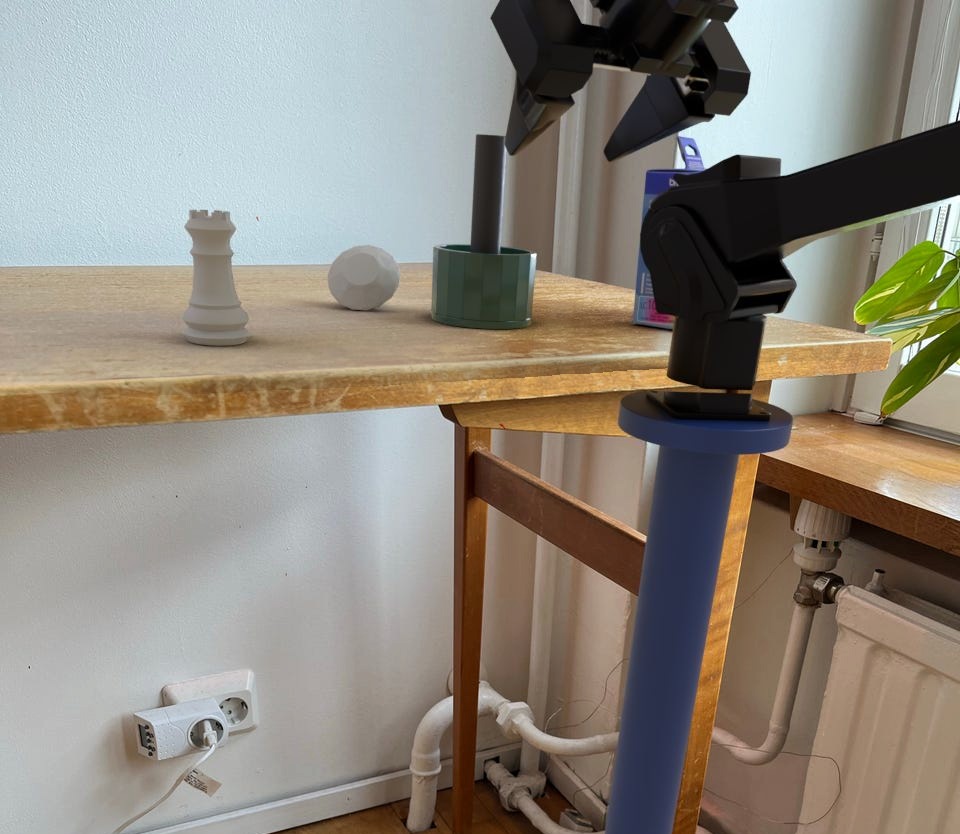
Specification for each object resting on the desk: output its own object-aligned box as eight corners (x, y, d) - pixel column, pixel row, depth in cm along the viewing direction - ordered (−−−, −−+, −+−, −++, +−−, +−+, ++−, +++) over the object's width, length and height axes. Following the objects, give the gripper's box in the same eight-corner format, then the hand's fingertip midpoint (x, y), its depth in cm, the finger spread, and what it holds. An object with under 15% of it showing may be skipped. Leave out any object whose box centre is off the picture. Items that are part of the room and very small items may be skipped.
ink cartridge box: (670, 313, 91) (694, 139, 85) (727, 321, 89) (756, 142, 82) (625, 324, 83) (648, 133, 77) (686, 332, 81) (715, 136, 74)
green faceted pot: (540, 330, 78) (546, 256, 75) (436, 327, 76) (439, 251, 74) (521, 314, 85) (526, 246, 82) (426, 311, 83) (428, 242, 81)
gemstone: (403, 268, 87) (395, 232, 82) (407, 330, 85) (400, 298, 80) (334, 275, 87) (323, 240, 82) (337, 337, 86) (326, 305, 81)
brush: (499, 319, 78) (510, 135, 72) (447, 313, 79) (454, 132, 73) (515, 312, 82) (527, 137, 76) (465, 307, 83) (473, 134, 77)
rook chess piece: (264, 340, 67) (259, 213, 63) (222, 349, 63) (215, 214, 60) (211, 332, 68) (204, 207, 65) (168, 340, 65) (157, 209, 61)
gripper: (747, -124, 63) (609, 75, 76) (522, -197, 53) (406, 48, 66) (823, 12, 61) (669, 193, 74) (606, -36, 51) (469, 185, 63)
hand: (559, 153), depth 69 cm, fingers open, 9 cm apart
